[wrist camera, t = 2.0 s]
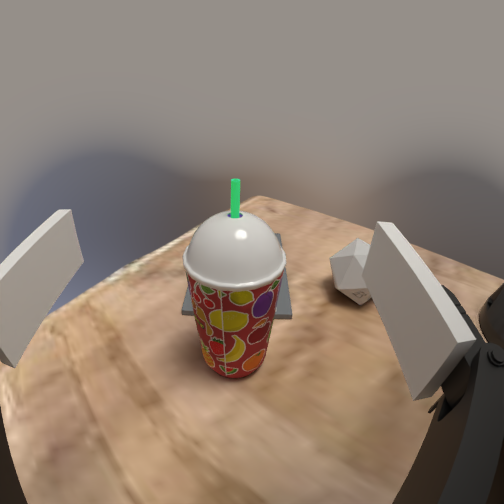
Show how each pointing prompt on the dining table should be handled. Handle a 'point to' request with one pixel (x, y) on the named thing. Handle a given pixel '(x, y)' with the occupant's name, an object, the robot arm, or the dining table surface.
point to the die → (351, 271)
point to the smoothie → (234, 287)
